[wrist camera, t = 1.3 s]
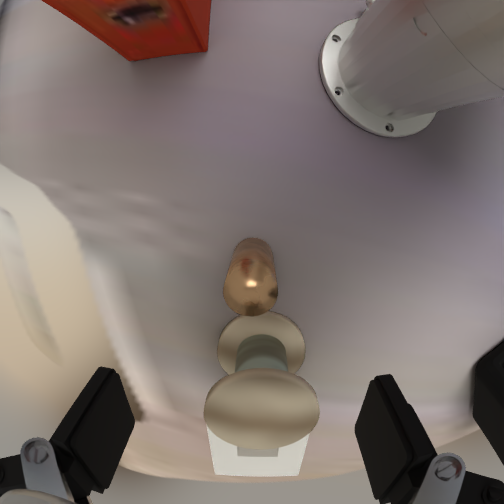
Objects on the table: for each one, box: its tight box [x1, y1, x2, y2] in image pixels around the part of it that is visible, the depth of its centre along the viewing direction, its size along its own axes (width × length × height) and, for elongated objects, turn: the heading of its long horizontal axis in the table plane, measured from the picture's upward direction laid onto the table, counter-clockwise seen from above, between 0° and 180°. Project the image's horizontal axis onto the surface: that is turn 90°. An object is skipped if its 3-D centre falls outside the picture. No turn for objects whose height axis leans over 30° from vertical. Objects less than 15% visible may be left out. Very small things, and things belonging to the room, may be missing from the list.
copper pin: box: [223, 238, 278, 317], centre depth 23 cm, size 4×4×8 cm
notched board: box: [207, 426, 309, 476], centre depth 32 cm, size 14×12×4 cm
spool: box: [204, 311, 320, 450], centre depth 25 cm, size 9×9×10 cm
